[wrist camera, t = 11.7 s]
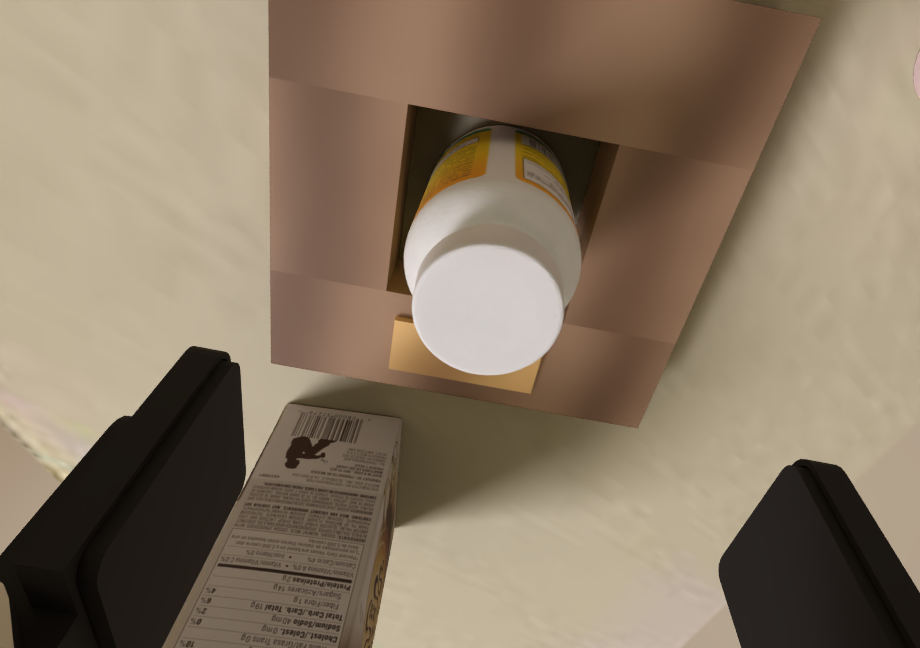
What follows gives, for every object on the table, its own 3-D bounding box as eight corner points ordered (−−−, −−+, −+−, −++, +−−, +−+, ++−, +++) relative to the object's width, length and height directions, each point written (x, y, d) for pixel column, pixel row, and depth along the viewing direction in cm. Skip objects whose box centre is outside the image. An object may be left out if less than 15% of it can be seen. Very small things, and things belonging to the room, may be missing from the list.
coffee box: (398, 530, 34) (327, 903, 21) (291, 517, 34) (149, 881, 21) (407, 414, 30) (322, 801, 16) (282, 398, 30) (90, 771, 16)
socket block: (779, 10, 19) (826, 19, 16) (625, 385, 28) (638, 432, 25) (300, -87, 19) (264, -95, 16) (293, 325, 27) (268, 367, 24)
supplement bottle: (576, 129, 22) (616, 229, 14) (553, 258, 24) (575, 405, 16) (432, 115, 22) (386, 206, 14) (426, 246, 25) (385, 386, 16)
